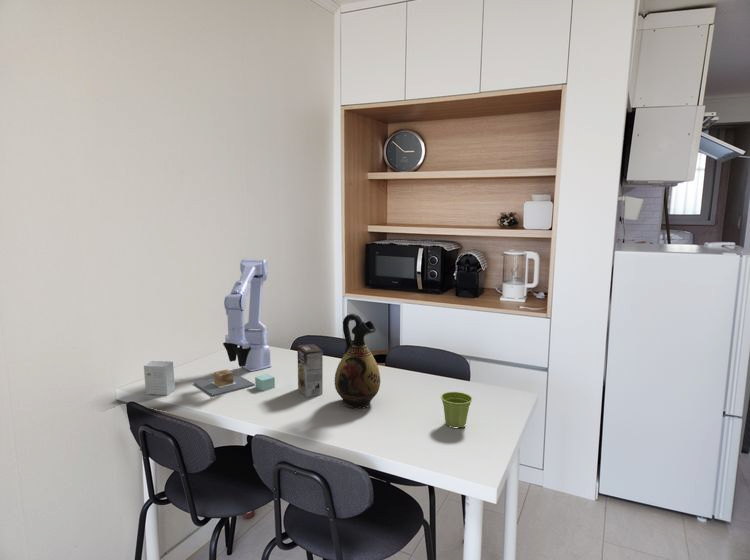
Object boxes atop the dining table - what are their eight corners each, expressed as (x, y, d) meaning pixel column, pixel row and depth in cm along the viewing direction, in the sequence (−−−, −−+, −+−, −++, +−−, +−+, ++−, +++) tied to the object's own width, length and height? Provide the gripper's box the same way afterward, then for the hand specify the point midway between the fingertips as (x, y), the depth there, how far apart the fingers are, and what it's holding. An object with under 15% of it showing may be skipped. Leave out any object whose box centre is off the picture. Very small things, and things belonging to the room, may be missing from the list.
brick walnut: (227, 379, 185) (226, 369, 185) (233, 383, 182) (233, 372, 181) (214, 382, 182) (214, 372, 181) (220, 386, 178) (220, 375, 178)
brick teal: (267, 384, 183) (267, 373, 183) (274, 387, 180) (274, 377, 179) (255, 387, 180) (255, 376, 180) (262, 391, 176) (262, 380, 176)
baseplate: (234, 374, 193) (234, 372, 193) (254, 385, 182) (254, 383, 181) (194, 384, 183) (193, 382, 182) (212, 396, 171) (212, 394, 171)
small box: (175, 389, 177) (173, 361, 175) (167, 395, 171) (165, 366, 170) (154, 388, 178) (152, 360, 176) (145, 394, 172) (143, 365, 171)
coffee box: (297, 388, 179) (296, 345, 176) (314, 385, 182) (313, 343, 179) (305, 397, 171) (305, 352, 168) (323, 394, 174) (323, 349, 171)
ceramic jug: (389, 400, 169) (390, 314, 164) (362, 416, 156) (363, 323, 152) (349, 389, 178) (349, 308, 174) (321, 403, 166) (320, 316, 161)
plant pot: (444, 415, 157) (444, 389, 156) (473, 420, 154) (474, 394, 152) (436, 428, 149) (437, 400, 147) (468, 433, 145) (469, 405, 144)
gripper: (216, 325, 181) (218, 360, 183) (234, 332, 170) (236, 370, 172) (235, 322, 185) (236, 357, 187) (253, 329, 175) (254, 366, 177)
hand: (237, 363), depth 180 cm, fingers open, 7 cm apart
